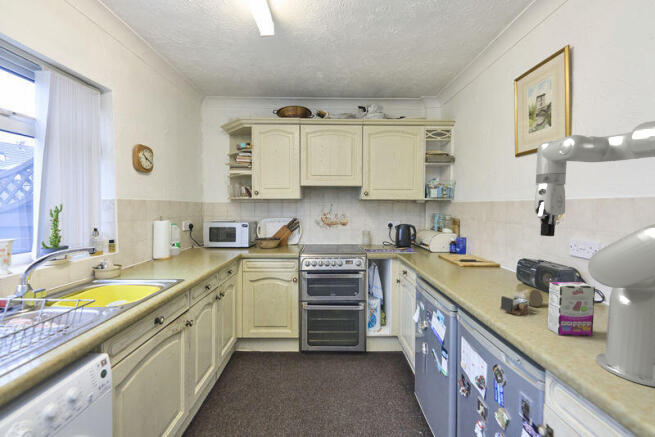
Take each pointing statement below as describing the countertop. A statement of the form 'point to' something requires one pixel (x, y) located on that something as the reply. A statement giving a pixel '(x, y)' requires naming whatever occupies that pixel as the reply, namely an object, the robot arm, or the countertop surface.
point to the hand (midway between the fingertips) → (547, 235)
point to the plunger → (512, 303)
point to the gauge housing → (520, 309)
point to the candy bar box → (571, 308)
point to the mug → (531, 296)
